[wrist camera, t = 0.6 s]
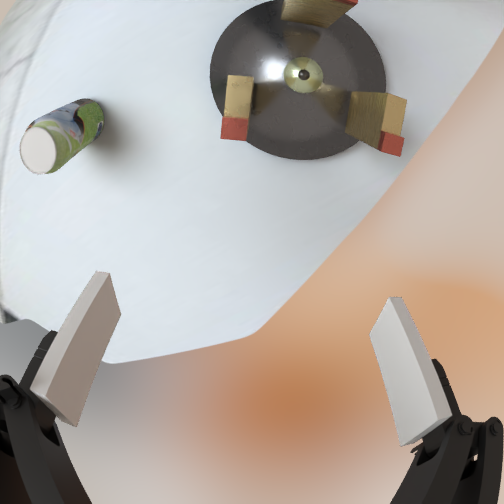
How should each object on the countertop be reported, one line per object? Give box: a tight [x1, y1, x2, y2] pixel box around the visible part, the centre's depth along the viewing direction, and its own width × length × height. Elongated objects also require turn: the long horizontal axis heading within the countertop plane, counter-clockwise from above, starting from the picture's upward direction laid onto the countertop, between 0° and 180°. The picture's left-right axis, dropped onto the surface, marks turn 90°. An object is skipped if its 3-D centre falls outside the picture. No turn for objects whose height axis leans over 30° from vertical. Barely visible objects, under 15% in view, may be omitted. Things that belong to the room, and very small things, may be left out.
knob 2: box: [280, 0, 358, 28], centre depth 16 cm, size 5×2×10 cm, turn 84°
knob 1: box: [221, 75, 254, 141], centre depth 21 cm, size 5×2×10 cm, turn 174°
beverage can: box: [20, 99, 104, 174], centre depth 23 cm, size 6×7×12 cm
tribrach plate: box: [210, 0, 386, 160], centre depth 25 cm, size 19×19×3 cm
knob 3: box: [345, 91, 407, 157], centre depth 22 cm, size 5×2×10 cm, turn 174°
